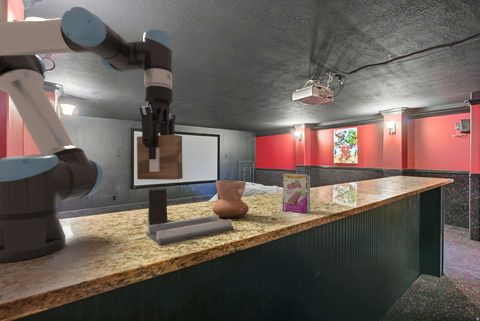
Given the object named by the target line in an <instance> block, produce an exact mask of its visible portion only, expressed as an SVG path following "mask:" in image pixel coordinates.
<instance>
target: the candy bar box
mask: <svg viewBox="0 0 480 321" xmlns="http://www.w3.org/2000/svg"><path fill="white" fill-rule="evenodd" d="M283 210H285V211H284V212H289V211H292V212H291V213H296V212H301V213H300V214H305V213H307V214H309V213H310V212H311V174H297V173H296V174H294V173H285V174H282V211H283ZM309 211H310V212H309ZM308 212H309V213H308Z"/></svg>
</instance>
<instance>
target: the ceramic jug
mask: <svg viewBox="0 0 480 321" xmlns="http://www.w3.org/2000/svg"><path fill="white" fill-rule="evenodd" d="M246 184H247V183H246V181H245V180H244V181H241V180H230V179H229V180H226V179H225V180H224V179H223V180H216V181H215V185H216V190H217V193H216V195H217V196H216V197H217V202H216V203H214V204H213V206H212V212H213V213H214V214H215V215H219V218H220V217H221V218H226V219H233V218H234V219H235V218H236V219H237V218H240V217H243V216H245V215H247V213H249V205H248V204H247V203H246V202H244V201H243V200H242V197H243V194H244V193H245V188H246Z"/></svg>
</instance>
